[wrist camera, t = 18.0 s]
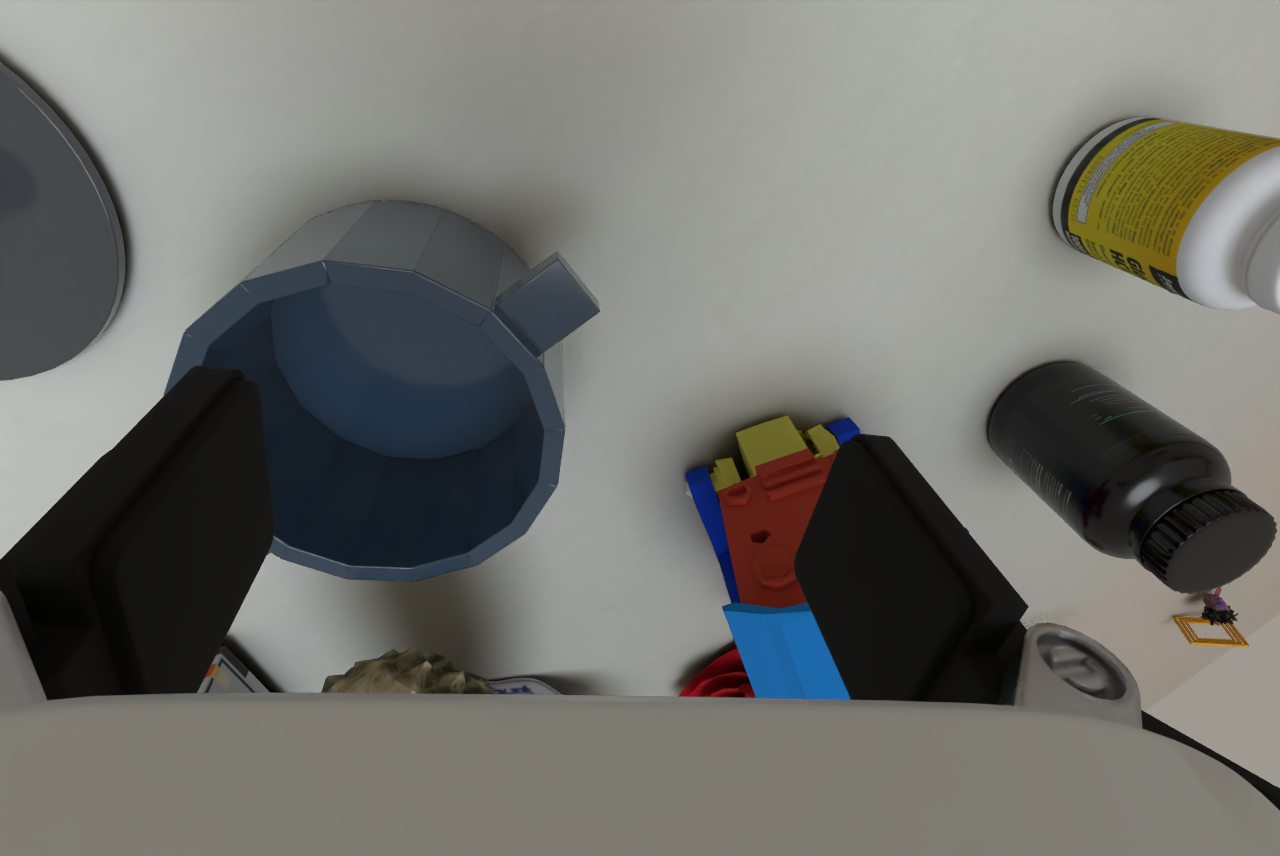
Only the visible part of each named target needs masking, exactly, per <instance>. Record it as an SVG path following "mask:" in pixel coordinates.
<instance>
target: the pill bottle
mask: <svg viewBox="0 0 1280 856" xmlns="http://www.w3.org/2000/svg"><path fill="white" fill-rule="evenodd" d="M1053 220H1054V224H1055V227H1056V229H1057V231H1058V233H1059V235H1060V236H1061V238H1062V239H1063V240H1064V241H1065V242H1066V243H1067V244H1068V245H1069V246H1071V247H1072V248H1074V249H1076V250H1078V251H1080V252H1081V253H1084V254H1086V255H1089V256H1091V257H1092V258H1095V259H1097V260H1100V261H1102V262H1105V263H1107V264H1109V265H1111V266H1113V267H1116V268H1118V269H1120V270H1123V271H1125V272H1127V273H1130V274H1132V275H1134V276H1136V277H1139V278H1141V279H1143V280H1145V281H1148V282H1150V283H1152V284H1154V285H1156V286H1159V287H1161V288H1164V289H1166V290H1168V291H1169V292H1171V293H1174V294H1177V295H1179V296H1182V297H1184V298H1186V299H1189V300H1191V301H1193V302H1196V303H1198V304H1200V305H1204V306H1207V307H1210V308H1215V309H1223V310H1236V309H1244V308H1250V307H1254V306H1257V305H1259V306H1260V307H1262V308H1264V309H1267V310H1270V311H1273V312H1275V313H1278V314H1280V138H1274V137H1268V136H1262V135H1256V134H1250V133H1244V132H1238V131H1232V130H1227V129H1221V128H1216V127H1210V126H1204V125H1198V124H1192V123H1186V122H1181V121H1175V120H1169V119H1162V118H1154V117H1137V118H1131V119H1127V120H1123V121H1120V122H1118V123H1115V124H1113V125H1111V126H1109V127H1107V128H1106V129H1104V130H1102V131H1101V132H1099V133H1098V134H1097V135H1095V136H1094V137H1093V138H1092V139H1090V140H1089V141H1088V142H1087V143H1086V144H1085V145H1084V146H1083V147H1082V148H1081V149H1080V150H1079V151H1078V152H1077V154H1076V155H1075V156H1074V157H1073V159H1072V160H1071V161H1070V163H1069V164H1068V166H1067V168H1066V169H1065V171H1064V173H1063V175H1062V177H1061V179H1060V181H1059V183H1058V186H1057V189H1056V192H1055V197H1054V202H1053Z"/></svg>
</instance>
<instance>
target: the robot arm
mask: <svg viewBox="0 0 1280 856" xmlns="http://www.w3.org/2000/svg"><path fill="white" fill-rule="evenodd" d="M274 529H275V522H274V513H273V504H272V495H271V487H270V478H269V469H268V460H267V451H266V443H265V434H264V425H263V416H262V408H261V399H260V391H259V386H258V384H257V383H256V382H255V381H249V380H246V377H245V375H244V373H243V372H242V371H241V370H237V369H228V368H218V367H208V366H194V367H193V368H191V369H190V370H189V371H188V372H187V373H186V374H185V375H184V376H183V377H182V378H181V379H180V380H179V381H178V382H177V383H176V384H175V385H174V387H173V388H172V389H171V390H170V391H169V392H168V393H167V394H166V395H165V396H164V397H163V398H162V399H161V400H160V401H159V402H158V403H157V404H156V405H155V406H154V407H153V408H152V409H151V410H150V411H149V412H148V413H147V414H146V415H145V416H144V417H143V418H142V419H141V420H140V421H139V422H138V423H137V424H136V425H135V427H134V428H133V429H132V430H131V431H130V432H129V433H128V434H127V435H126V436H125V437H124V438H123V439H122V440H121V441H120V442H119V443H118V444H117V445H116V446H115V447H114V448H113V449H112V450H110V451H109V452H107V453H106V454H105V455H103V456H102V457H101V458H100V459H99V460H98V461H97V462H96V463H95V464H94V465H93V466H92V467H91V468H90V469H89V470H88V471H87V472H86V473H85V474H84V475H83V476H82V477H81V478H80V479H79V480H78V481H77V482H76V483H75V484H74V485H73V486H72V487H71V488H70V489H69V490H68V492H67V493H66V494H65V495H64V496H63V497H62V498H61V499H60V500H59V501H58V502H57V503H56V504H55V505H54V506H53V507H52V508H51V509H50V510H49V511H48V512H47V513H46V514H45V515H44V516H43V517H42V518H41V519H40V520H39V521H38V522H37V523H36V524H35V525H34V526H33V527H32V528H31V529H30V530H29V531H28V532H27V533H26V534H25V535H24V536H23V537H22V538H21V539H20V540H19V541H18V542H17V543H16V544H15V545H14V546H13V547H12V549H11V550H10V551H9V552H8V553H7V554H6V555H5V556H4V557H3V558H2V559H1V560H0V856H1280V788H1278V787H1276V786H1274V785H1272V784H1270V783H1269V782H1267V781H1265V780H1264V779H1262V778H1260V777H1258V776H1257V775H1255V774H1253V773H1251V772H1250V771H1248V770H1246V769H1244V768H1242V767H1241V766H1239V765H1237V764H1235V763H1234V762H1232V761H1230V760H1228V759H1227V758H1225V757H1223V756H1221V755H1220V754H1218V753H1216V752H1214V751H1213V750H1211V749H1209V748H1207V747H1206V746H1204V745H1202V744H1200V743H1198V742H1197V741H1195V740H1193V739H1191V738H1190V737H1188V736H1186V735H1184V734H1182V733H1181V732H1179V731H1177V730H1175V729H1174V728H1172V727H1170V726H1168V725H1167V724H1165V723H1163V722H1161V721H1160V720H1158V719H1156V718H1154V717H1153V716H1151V715H1149V714H1147V713H1146V712H1144V711H1142V710H1141V702H1140V692H1139V689H1138V686H1137V682H1136V681H1135V679H1134V677H1133V676H1132V674H1131V673H1130V671H1129V670H1128V668H1127V667H1126V666H1125V665H1124V664H1123V663H1122V662H1121V661H1120V660H1119V659H1118V658H1117V657H1116V656H1115V655H1114V654H1113V653H1111V652H1110V651H1109V650H1108V649H1106V648H1105V647H1104V646H1102V645H1101V644H1100V643H1098V642H1097V641H1095V640H1093V639H1091V638H1090V637H1088V636H1086V635H1084V634H1083V633H1081V632H1078V631H1076V630H1073V629H1071V628H1068V627H1066V626H1062V625H1057V624H1053V623H1038V624H1036V625H1034V626H1032V627H1030V628H1029V629H1028V630H1027V629H1026V628H1025V627H1024V626H1023V624H1022V623H1021V622H1020V621H1019V620H1020V619H1021V617H1022V616H1023V614H1024V613H1025V611H1026V610H1027V608H1028V605H1027V604H1026V603H1025V602H1024V600H1023V599H1022V598H1021V597H1020V595H1019V594H1018V593H1017V592H1016V591H1015V589H1014V588H1013V587H1012V586H1011V584H1010V583H1009V582H1008V581H1007V580H1006V578H1005V577H1004V576H1003V575H1002V573H1001V572H1000V571H999V570H998V568H997V567H996V566H995V565H994V564H993V562H992V561H991V560H990V559H989V557H988V556H987V555H986V554H985V552H984V551H983V550H982V549H981V548H980V546H979V545H978V544H977V543H976V541H975V540H974V539H973V538H972V536H971V535H970V534H969V533H968V532H967V530H966V529H965V528H964V527H963V525H962V524H961V523H960V522H959V521H958V519H957V518H956V517H955V516H954V514H953V513H952V512H951V511H950V509H949V508H948V507H947V506H946V505H945V503H944V502H943V501H942V500H941V498H940V497H939V496H938V495H937V493H936V492H935V491H934V490H933V489H932V487H931V486H930V485H929V484H928V482H927V481H926V480H925V479H924V477H923V476H922V475H921V474H920V473H919V471H918V470H917V469H916V468H915V466H914V465H913V464H912V463H911V462H910V460H909V459H908V458H907V457H906V455H905V454H904V453H903V452H902V450H901V449H900V448H899V447H898V446H897V444H896V443H895V442H894V441H893V440H892V439H891V438H890V437H886V436H877V435H867V434H856V435H854V436H853V437H852V438H851V439H850V440H849V441H844V442H843V443H842V444H841V445H840V447H839V449H838V452H837V454H836V457H835V459H834V462H833V464H832V467H831V469H830V471H829V474H828V476H827V479H826V481H825V484H824V486H823V489H822V491H821V494H820V496H819V498H818V501H817V503H816V506H815V508H814V511H813V513H812V516H811V518H810V521H809V523H808V525H807V528H806V530H805V533H804V535H803V538H802V540H801V543H800V545H799V548H798V550H797V552H796V555H795V560H794V571H795V575H796V578H797V580H798V582H799V585H800V587H801V589H802V591H803V594H804V596H805V598H806V600H807V602H808V605H809V607H810V609H811V611H812V614H813V616H814V618H815V620H816V623H817V625H818V627H819V629H820V632H821V634H822V636H823V638H824V640H825V643H826V645H827V647H828V649H829V652H830V654H831V656H832V658H833V661H834V663H835V665H836V667H837V670H838V672H839V674H840V676H841V679H842V681H843V683H844V685H845V687H846V690H847V692H848V694H849V696H850V699H851V700H834V699H784V698H732V697H666V696H595V695H519V694H403V693H197V692H198V690H199V688H200V686H201V684H202V682H203V680H204V678H205V676H206V674H207V672H208V670H209V668H210V666H211V664H212V662H213V660H214V658H215V656H216V654H217V652H218V650H219V648H220V647H221V645H222V643H223V641H224V639H225V637H226V635H227V633H228V631H229V629H230V627H231V625H232V623H233V621H234V619H235V617H236V615H237V613H238V611H239V609H240V607H241V605H242V603H243V601H244V599H245V597H246V595H247V593H248V591H249V589H250V587H251V585H252V583H253V581H254V579H255V577H256V575H257V573H258V571H259V569H260V567H261V565H262V563H263V561H264V559H265V557H266V555H267V553H268V551H269V549H270V547H271V545H272V541H273V537H274Z"/></svg>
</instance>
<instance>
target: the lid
mask: <svg viewBox="0 0 1280 856" xmlns="http://www.w3.org/2000/svg"><path fill="white" fill-rule="evenodd" d="M124 279H125V249H124V243H123V236H122V230H121V227H120V224H119V220H118V217H117V213H116V210H115V207H114V204H113V202H112V200H111V198H110V195H109V193H108V191H107V188H106V186H105V184H104V182H103V180H102V178H101V176H100V175H99V173H98V171H97V169H96V168H95V166H94V164H93V162H92V161H91V159H90V157H89V156H88V154H87V153H86V151H85V150H84V149H83V147H82V146H81V144H80V143H79V142H78V140H77V139H76V137H75V136H74V135H73V133H72V132H71V130H70V129H69V128H68V127H67V126H66V125H65V123H64V122H63V121H62V120H61V119H60V118H59V117H58V115H57V114H56V113H55V112H54V111H53V110H52V108H51V107H50V106H49V105H48V104H47V103H46V102H45V101H44V100H43V99H42V98H41V97H40V96H39V95H38V94H37V93H36V92H35V91H34V90H32V89H31V88H30V87H29V86H28V85H27V84H26V83H25V82H24V81H23V80H22V79H21V78H20V77H18V76H17V75H16V74H15V73H13V72H12V71H11V70H10V69H9V68H7V67H6V66H5V65H4V64H2V63H1V62H0V381H2V380H13V379H18V378H23V377H28V376H33V375H36V374H39V373H42V372H45V371H48V370H51V369H54V368H56V367H58V366H59V365H61V364H63V363H65V362H67V361H69V360H71V359H72V358H74V357H75V356H77V355H78V354H79V353H81V352H82V351H83V350H84V349H86V348H87V347H88V346H90V345H91V344H92V343H93V342H94V341H95V340H96V339H97V338H98V337H99V336H100V335H101V334H102V333H103V331H104V330H105V329H106V328H107V326H108V324H109V323H110V321H111V319H112V318H113V316H114V314H115V312H116V310H117V307H118V304H119V302H120V299H121V296H122V291H123V285H124Z"/></svg>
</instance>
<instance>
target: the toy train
mask: <svg viewBox="0 0 1280 856" xmlns="http://www.w3.org/2000/svg"><path fill="white" fill-rule="evenodd" d="M828 429H829V432H828V431H827V430H825V429H824V428H823V427H822V425H821V424H819V425H817V426H815V427H813V428H811V429H809V430H807V431H806V432H805V433H803V432H802V430H796V428H795V427H794V425H793V423H792V422H791V420H790V419H789V417H788V415H787V416H784V417H781V418H777V419H774V420H771V421H768V422H765V423H761V424H759V425H756V426H753V427H751V428H748V429H745V430H742V431H740V432H737V433H736V437H737V440H738V444H739V448H740V451H741V455H742V458H743V462H744V465H745V468H746V472H747V475H748V479H746V480H743V481H741V479H740V477H739V474H738V472H737V469H736V467H735V464H734V462H733V459H732V458H726V459H719V460H715V463H716V466H717V467H715V468H713V470H714V472H713V473H711V474H709V473H708V470H707V467H706V466H704V467H701V468H698V469H695V470H692V471H689V472H686V473H685V475H686V479H687V484H686V488H685V492H684V493H685V494H686V495H688V496H689V497H690V498H691V499H694V502H695V504H696V507H697V510H698V512H699V514H700V517H701V519H702V521H703V524H704V526H705V528H706V531H707V533H708V535H709V538H710V540H711V542H712V545H713V548H714V550H715V553H716V556H717V558H718V561H719V564H720V567H721V570H722V573H723V577H724V580H725V583H726V587H727V590H728V593H729V597H730V600H731V604H728V605H725V606H722V608H723V611H724V613H725V616H726V619H727V621H728V624H729V627H730V629H731V632H732V635H733V637H734V640H735V643H736V645H737V648H738V651H739V653H740V656H741V659H742V661H743V664H744V667H745V669H746V672H747V675H748V677H749V680H750V683H751V685H752V688H753V691H754V693H755V696H756V698H784V699H834V700H851V699H850V696H849V694H848V692H847V690H846V687H845V685H844V683H843V681H842V679H841V676H840V674H839V672H838V670H837V667H836V665H835V663H834V661H833V658H832V656H831V654H830V652H829V649H828V647H827V645H826V643H825V640H824V638H823V636H822V634H821V632H820V629H819V627H818V625H817V623H816V620H815V618H814V616H813V614H812V611H811V609H810V607H809V605H808V602H807V600H806V598H805V596H804V594H803V591H802V589H801V587H800V585H799V582H798V580H797V578H796V575H795V571H794V560H795V555H796V552H797V550H798V548H799V545H800V543H801V540H802V538H803V535H804V533H805V530H806V528H807V525H808V523H809V521H810V518H811V516H812V513H813V511H814V508H815V506H816V503H817V501H818V498H819V496H820V494H821V491H822V489H823V486H824V484H825V481H826V479H827V476H828V474H829V471H830V469H831V467H832V464H833V462H834V459H835V457H836V454H837V452H838V449H839V447H840V445H841V444H842V443H843V442H844V441H849V440H850V439H851V438H852V437H853V436H854V435H856V434H862V430H861V429H860V428H858V426H857V425H856V424H855V423H854V422H853V421H852V420H851V419H850V418H846V419H843V420H840V421H837V422H834V423H831V424H828ZM716 492H718V495H719V500H720V504H719V501H718V499H717V496H716ZM720 505H721V506H720ZM965 529H966V528H965ZM966 530H967V529H966ZM967 532H968V533H969V531H968V530H967Z"/></svg>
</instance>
